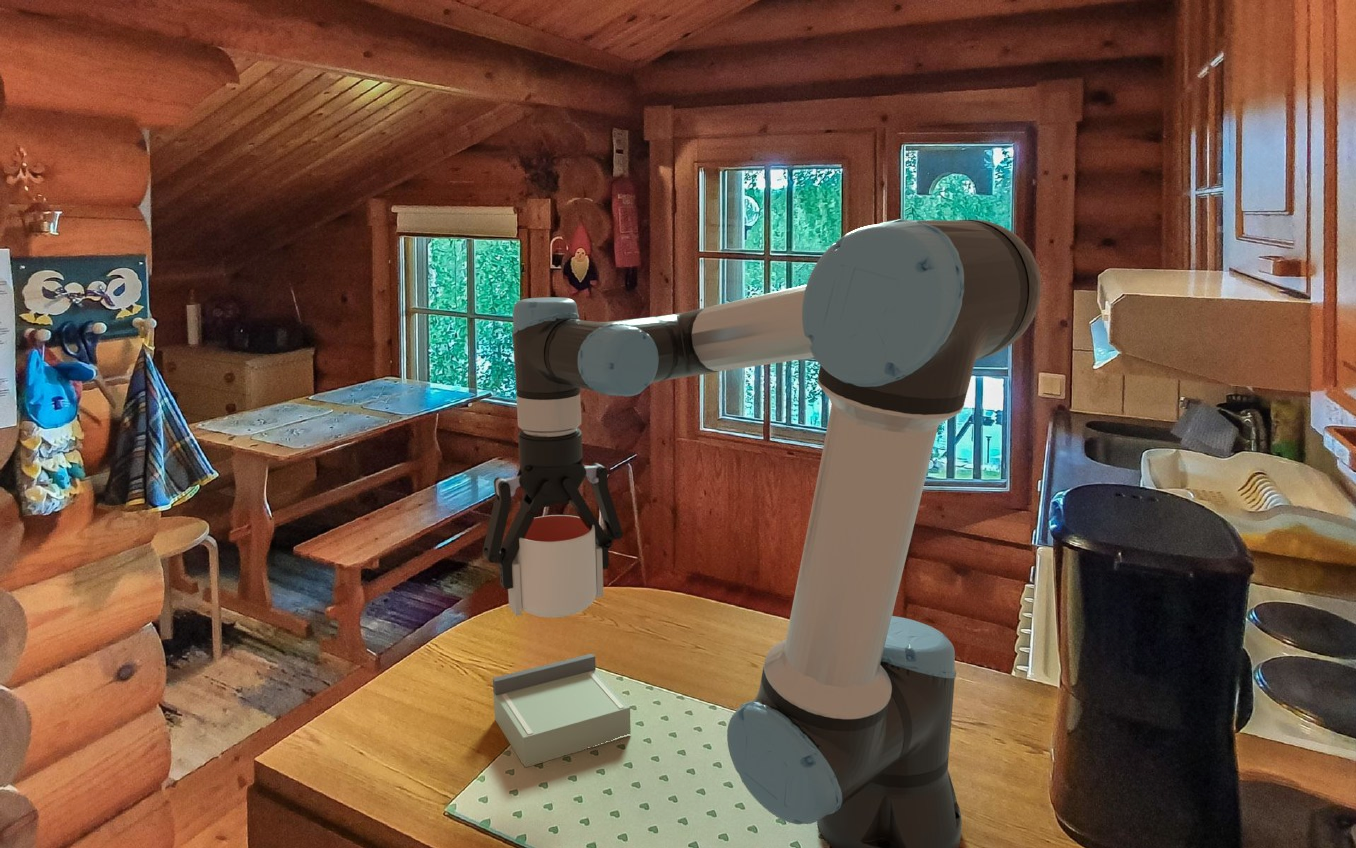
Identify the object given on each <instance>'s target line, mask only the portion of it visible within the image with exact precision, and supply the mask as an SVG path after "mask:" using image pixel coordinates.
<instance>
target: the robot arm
mask: <svg viewBox="0 0 1356 848" xmlns="http://www.w3.org/2000/svg"><path fill="white" fill-rule="evenodd" d="M1041 282H1042V278H1041V273H1040V268H1039V266H1038V264H1037V261H1036V259H1035V257H1034V254H1033V252H1032V250H1031V249H1030V248H1029V247H1028V246H1027V244H1025V242H1024V241H1023V240H1022V239H1021V238H1020V237H1019V236H1018V235H1017V234H1015V233H1014V232H1013V231H1011V230H1009V229H1008V228H1006V227H1004V226H1002V225H1001V224H1000V225H999V224H996V223H994V222H991V221H989V220H983V219H982V220H980V219H957V220H956V219H955V220H941V219H939V220H938V219H937V220H934V219H933V220H931V219H930V220H926V219H925V220H922V219H921V220H916V219H915V220H914V219H910V220H909V219H904V218H898V219H897V218H896V219H893V220H887V221H883V222H880V223H877V224H871V225H866V226H863V227H860V228H857V229H854V230H852V231H850V232H848V233H846V234H845V235H843V236H841V238H840V239H838V240H837V241H835V242H834V243H833V244H831V245H830V246H829V247H828V248H827V249H826V251H824V253H823V254H822V255H821V256H820V258H819V259H818V261H817V262H816V263H815V265H814V267H813V269H812V271H811V273H810V275H809V277H808V280H807V282H806V284H804V285H800V286H795V287H791V288H790V287H789V288H787V289H781V290H778V291H773V292H769V293H764V294H760V295H756V296H752V297H746V298H742V299H738V300H734V301H729V302H725V303H721V304H716V305H712V306H708V307H703V308H698V309H693V310H689V311H684V312H680V313H672V314H666V315H665V314H664V315H659V316H649V317H640V318H639V317H638V318H630V319H629V318H628V319H623V320H622V319H621V320H612V321H590V320H582V319H580V315H579V312H578V305H577V303H576V301H575V300H573V299H571V298H568V297H558V296H557V297H554V296H553V297H552V296H550V297H549V296H548V297H547V296H545V297H531V298H529V297H528V298H525V299H520V300H518V301H517V302H516V303H515V304H514V305H513V309H512V311H513V313H512V324H513V325H512V327H513V328H512V331H511V337H512V346H513V347H512V349H513V359H514V360H513V363H514V377H515V388H516V394H515V395H516V412H517V414H516V415H517V427H518V428H519V429H521V430H520V431H519V432H518V435H517V437H518V439H517V440H518V458H519V459H518V460H519V469H518V473H517V474H516V476H512V477H508V478H507V477H506V478H503V477H501V476H497V477H495V478H494V480H493V487H494V495H495V496H494V501H493V504H492V508H491V513H490V518H489V522H488V526H487V530H486V536H485V538H484V539H485V540H484V544H483V548H482V554H483V557H485V559H486V560H487V561H488V562H489V563H491V564H495V563H497V564H498V567H499V568H498V570H499V573H498V574H499V583H500V585H501V587H502V588H503V589H504V590H507V593H508V595H507V596H508V608H509V609H510V610H511V612H512V613H513V614H514V615H515V616H516V617H518V616H522V615H523V609H522V604H521V584H520V564H519V563H518V562H517V561H516V560H515V559H514V558H515V556H516V554H517V552H518V550H519V548H520V546H519V539H520V538H525V536H526V534H527V532H528V530H529V528H530V526H531V524H532V521H533V519H534V518H536V517H537V515H538V514H539V513H540V511H541V509H542V508H548V507H551V506H553V505H566V504H567V505H568V503H569V504H570V505H571V507H572V508H573V509H574V511H575V512H576V514H577V517H580V519H581V520H582V522H583V523H584V525H585V526H586V527H587V528H588V529H589V530H591V529H592V525H594V526H595V553H596V586H597V593H596V597H595V598H596V599H597V598H598V599H599V598H604V570H608V568H609V565H610V558H609V557H610V556H609V553H610V552H609V551H610V548H611V547H612V545H613V541H614V540H619V539H622V538H623V535H624V534H623V529H622V527H621V524H620V520H619V518H618V517H619V516H618V514H617V511H616V508H615V504H614V501H613V498H612V495H611V492H610V489H609V486H608V478H609V477H608V474H609V473H608V472H609V471H608V469H607V468H606V467H605V466H603V465H602V464H599V463H598V462H594V463H592V464H591V465H586V466H585V465H584V464H583V463H584V462H583V437H582V436H583V434H582V430H580V428H579V427H580V426H581V425H582V408H581V403H582V402H581V389H583V390H587V391H592V392H596V393H598V394H601V395H604V396H608V397H609V396H611V397H615V396H620V397H633V396H637V395H639V394H641V393H642V392H643V391H644V390H645V389H646V388H647V387H649V386H650V385H651V384H654V383H660V382H663V381H669V380H675V379H682V378H687V377H694V376H702V375H708V374H714V373H718V372H725V371H731V370H738V369H743V368H744V369H745V368H746V369H747V368H751V367H758V366H764V365H765V366H766V365H773V364H778V363H779V364H780V363H786V362H792V361H800V360H806V359H815V360H816V362H817V364H819V369H818V370H819V371H818V376H817V384H818V386H819V387H820V389H821V390H822V392H824V394H825V395H826V397H827V398H828V399H829V400H830V401H829V402H830V403H831V407H830V411H829V417H828V421H827V422H828V423H827V428H826V432H825V437H824V441H823V446H822V451H821V458H820V462H819V469H818V473H817V478H816V482H815V483H816V484H815V489H814V494H813V499H812V503H811V504H812V505H811V511H810V514H809V519H808V524H807V529H806V535H805V539H804V546H803V550H802V555H801V561H800V565H799V571H798V575H797V581H796V585H795V586H796V587H795V590H794V591H795V592H794V597H793V601H792V606H791V612H790V618H789V622H788V628H787V633H786V638H785V639H784V640H781V641H779V642H777V643H776V644H775V645H773V646H772V647H771V648H770V649H769V650H768V652H767V653H766V656H765V659H764V663H763V667H762V672H761V678H760V684H759V689H758V692H757V695H756V697H755V698H754V699H753V700H751V701H749V700H747V702H744V703H743V704H741V705H740V706H739V708H738V709H737V710H736V711H735V712H734V713H733V714H732V716H731V717H730V719H729V722H728V723H727V724H728V725H727V732H726V738H727V739H726V740H727V741H726V742H727V748H728V752H729V755H730V759H731V761H732V765H733V766H734V768H735V769H734V770H735V771H736V772H737V773H738V775H739V778H740V779H741V782H742V783H743V785H744V787H745V788H746V789H747V791H748V792H749V793H750V794H751V795H752V797H753V798H754V799H755V801H757V802H758V803H759V804H760V805H761V806H762V807H763V808H764V809H765V810H767V811H768V813H770V814H772V815H773V816H774V817H777V818H779V819H781V820H782V821H784V822H786V823H790V824H795V825H811V824H814V823H817V827H818V830H819V832H820V834H821V835H822V838H823V839H824V840H825V842H826V843H827V844H828V845H829V846H830V847H831V848H960V845H961V841H962V840H961V838H962V824H963V823H962V821H963V820H962V813H961V810H960V806H959V803H958V801H957V796H956V792H955V789H954V785H953V781H952V778H951V775H950V772H949V759H950V756H949V755H950V745H951V744H950V743H951V732H952V717H953V706H954V705H953V703H954V691H955V678H957V671H956V669H955V667H956V666H955V663H956V661H955V659H956V658H955V657H956V653H955V648H954V645H953V644H952V642H951V641H950V640H949V638H948V637H947V636H946V635H945V634H944V633H943V632H941V631H940V630H938V629H936V628H934V627H933V626H931V625H928V624H925V623H922V622H919V621H917V620H913V619H910V618H906V617H901V616H894V615H893V614H894V609H895V605H896V601H897V596H898V592H899V590H900V589H899V588H900V585H901V581H902V576H903V571H904V567H905V563H906V560H907V556H908V553H909V547H910V543H911V539H912V536H913V531H914V526H915V523H916V519H917V515H918V511H919V507H920V504H921V503H920V502H921V498H922V493H923V490H924V486H925V482H926V478H927V475H928V469H929V466H930V461H931V458H932V452H933V449H934V446H935V445H934V444H935V442H936V437H937V433H938V428H939V426H940V425H941V424H943V423H944V422H946V421H948V420H950V419H951V418H953V417H955V416H957V415H958V414H960V413H961V412H962V411H963V408H964V406H965V402H966V398H967V395H968V390H969V388H970V387H969V386H970V383H971V378H972V376H973V375H972V374H973V370H974V367H975V363H976V361H978V360H981V359H985V358H988V357H991V356H994V355H996V354H999V353H1000V352H1002V351H1004V350H1005V349H1007V348H1008V347H1010V346H1011V345H1012V344H1013V343H1015V342H1017V341H1018V340H1019V338H1021V336H1023V334H1024V333H1025V332H1026V331H1027V329H1028V328H1029V327H1030V325H1031V323H1032V321H1033V320H1034V318H1035V316H1036V313H1037V311H1038V307H1039V305H1040V301H1041V296H1042V295H1041V294H1042V288H1041V287H1042V283H1041ZM585 478H587V480H588V482H589V483H590V484H591V487H592V490H593V491H592V492H593V493H594V496H595V500H596V503H597V506H598V508H599V512H600V516H601V518H602V522H603V523H604V528H605V529H603V527H602V526H601V524H600V522H599V521H598V520H597V518H596V517H595V515H594V514H593V511H591V509H590V508H589V507H588V505H587V503H586V500H585V499H584V497H583V496H582V494H581V493H580V491H579V487H580V486H581V485H582V483H583V481H584V480H585ZM519 487H520V488H521V489H522V490H523V492H524V494H523V497H522V499H521V500H520V503H519V505H520V506H519V508H518V510H517V513H516V515H515V516H514V518H513V521H512V523H511V525H510V527H509V528H508V531H507V533H506V535H505V531H506V527H507V522H508V517H509V513H510V510H511V504H512V497H514V496H515V494H516V490H517V488H519ZM504 535H505V537H504Z"/></svg>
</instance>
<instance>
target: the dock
mask: <svg viewBox="0 0 1356 848" xmlns="http://www.w3.org/2000/svg"><path fill="white" fill-rule="evenodd" d="M596 665H597V664H596V655H595V654H594V653H589V654H584V655H581V656H577V657H571V658H568V659H565V660H560V661H556V662H552V663H548V664H544V665H540V666H536V667H532V668H528V669H525V670H524V669H523V670H520V671H515V672H513V673H508V674H504V675H500V676H496V677H492V691H493V707H494V720H495V722H496V724H497V725H498V727H499V728H500V730H501V731H502V733H503V734H504V735H503V736H504V737H505V738H506V740H507V741H508V743H509V745H510V746H511V747H512V749H513V751H514V752H515V755H517V757H518V759H519V760H520V762H521V763H522V766H523V767H524V768H528V767H531V766H535V765H538V764H543V763H544V762H548V761H551V760H552V761H553V760H555V759H558V758H562V757H565V756H568V755H571V753H572V754H575V753H578V752H577V751H579V752H581V751H580V750H582V751H585V750H587V749H586V748H588V747H592V748H594V747H593V746H595V745H598V744H601V743H605V742H606V741H611V740H613V739H615V738H618V737H620V736H624V735H627V734H631V707H630V706H629V705H628V703H626V701H625V700H624V699H623V698H622V697H621V695H620V694H618V693H617V692H616V690H615V689H614V688H613V687H612V685H610V684H609V682H608V681H606V679H605V678H604V677H603V676H602V675H601V673H599V672H598V670H597V669H596ZM631 735H632V734H631ZM605 744H606V743H605ZM595 747H596V746H595ZM584 749H585V750H584ZM564 755H565V756H564Z"/></svg>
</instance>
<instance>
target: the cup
mask: <svg viewBox="0 0 1356 848" xmlns="http://www.w3.org/2000/svg"><path fill="white" fill-rule="evenodd" d="M519 546H520V548H519V550H518V552H517V554H516V556H515V558H514V559H515V560H516V561H517V562H518V563H519V564H520V584H521V604H522V611H524V612H526V613H528V614H531V615H532V616H535V617H536V616H537V617H541V618H543V617H544V618H559V617H560V618H562V617H567V616H571V615H576V614H579V613H581V612H582V611H585V610H586V609H587V608H589V607H590V606H591V605H592V604H593V603H594V601H595V600H596V598H597V597H596V593H597V586H596V553H595V526H594V525H592V529H591V530H589V529H588V528H587V527H586V526H585V525H584V523H583V522H582V520H581V519H580V517H579V516H576V515H564V514H556V515H555V514H554V515H553V514H552V515H542V516H538V517H537V516H535V517H534V519H533V521H532V524H531V526H530V528H529V530H528V532H527V534H526V536H525V538H520V539H519Z"/></svg>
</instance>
